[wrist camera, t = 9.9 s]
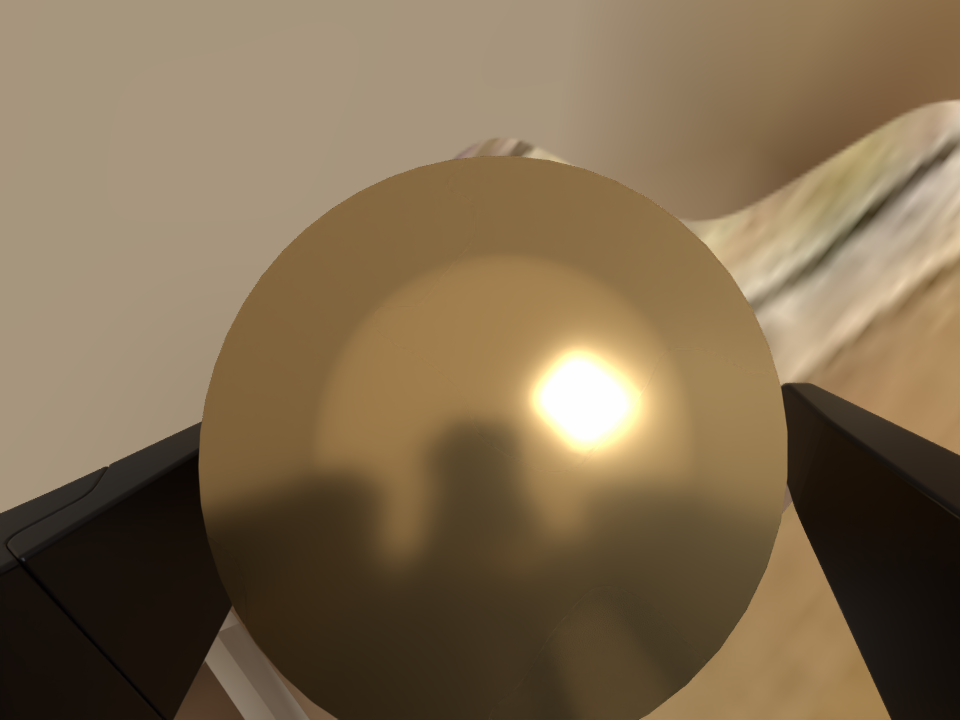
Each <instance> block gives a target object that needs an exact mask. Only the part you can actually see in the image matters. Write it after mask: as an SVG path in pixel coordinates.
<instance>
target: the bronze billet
mask: <svg viewBox="0 0 960 720" xmlns="http://www.w3.org/2000/svg"><path fill="white" fill-rule="evenodd" d="M199 482H200V497H201V507H202V512H203V517H204V523H205V528H206V533H207V539H208V542H209V546H210V549H211V552H212V555H213V558H214V561H215V565H216V568H217V571H218V574H219V577H220V579H221V581H222V583H223V585H224V588H225V590H226V592H227V594H228V596H229V598H230V601H231V603H232V605H233V607H234V609H235V611H236V613H237V614H238V616H239V618H240V619H241V621H242V622H243V624H244V626H245V627H246V629H247V630H248V632H249V634H250V635H251V637H252V638H253V640H254V641H255V643H256V644H257V646H258V647H259V648H260V649H261V650H262V652H263V653H264V654H265V655H266V656H267V658H268V659H269V660H270V661H271V662H272V664H273V665H274V666H275V667H276V668H277V670H278V671H279V672H280V673H281V674H282V675H283V676H284V677H285V678H286V679H287V680H288V681H289V682H290V683H292V684H293V685H294V686H295V687H296V688H297V689H298V690H299V691H300V692H302V693H303V694H304V695H305V696H306V697H307V698H308V699H309V700H310V701H312V702H313V703H314V704H316V705H317V706H319V707H320V708H322V709H323V710H325V711H326V712H328V713H329V714H331V715H332V716H334V717H335V718H337V719H338V720H639V719H641V718H642V717H644V716H646V715H648V714H650V713H651V712H652V711H653V710H655V709H656V708H657V707H659V706H660V705H661V704H662V703H664V702H665V701H666V700H668V699H669V698H670V697H671V696H673V695H674V694H675V693H676V692H678V691H679V690H680V689H682V688H683V687H684V686H685V685H687V684H688V683H689V682H690V681H691V679H692V678H693V677H694V676H695V675H696V674H697V673H698V672H699V671H700V670H701V669H702V668H703V667H704V666H705V664H706V663H707V662H708V661H709V660H710V659H711V658H712V657H713V656H714V655H715V654H716V653H717V652H718V651H719V650H720V648H721V647H722V645H723V644H724V642H725V641H726V639H727V638H728V636H729V635H730V633H731V632H732V630H733V629H734V628H735V626H736V625H737V623H738V622H739V620H740V619H741V617H742V616H743V614H744V613H745V611H746V610H747V608H748V606H749V604H750V602H751V599H752V597H753V595H754V593H755V591H756V589H757V587H758V585H759V583H760V581H761V578H762V576H763V574H764V572H765V570H766V568H767V565H768V562H769V559H770V555H771V552H772V549H773V546H774V542H775V539H776V536H777V532H778V529H779V526H780V523H781V516H782V509H783V503H784V496H785V489H786V482H787V425H786V418H785V411H784V404H783V397H782V390H781V385H780V382H779V379H778V375H777V372H776V368H775V365H774V361H773V358H772V355H771V351H770V348H769V345H768V343H767V341H766V338H765V336H764V334H763V332H762V330H761V327H760V325H759V323H758V321H757V318H756V316H755V314H754V312H753V310H752V308H751V306H750V305H749V303H748V301H747V300H746V298H745V297H744V295H743V293H742V292H741V290H740V289H739V287H738V285H737V284H736V282H735V281H734V279H733V277H732V276H731V274H730V273H729V272H728V271H727V270H726V268H725V267H724V266H723V265H722V264H721V262H720V261H719V260H718V259H717V258H716V256H715V255H714V254H713V253H712V252H711V250H710V249H709V248H708V247H707V246H706V244H704V243H703V242H702V241H701V240H700V239H699V238H698V237H697V236H696V235H695V234H694V233H692V232H691V231H690V230H689V229H688V228H687V227H686V226H685V225H684V224H683V223H682V222H681V221H679V220H678V219H677V218H676V217H674V216H673V215H671V214H670V213H669V212H667V211H666V210H664V209H663V208H661V207H660V206H659V205H657V204H656V203H654V202H653V201H652V200H650V199H649V198H647V197H645V196H643V195H641V194H639V193H638V192H635V191H634V190H632V189H630V188H628V187H626V186H624V185H623V184H621V183H619V182H617V181H615V180H612V179H609V178H607V177H604V176H601V175H599V174H596V173H594V172H591V171H588V170H585V169H583V168H579V167H575V166H571V165H567V164H562V163H558V162H554V161H550V160H542V159H534V158H526V157H517V156H481V157H472V158H464V159H455V160H448V161H444V162H440V163H435V164H431V165H426V166H422V167H418V168H415V169H412V170H409V171H407V172H404V173H401V174H398V175H395V176H393V177H389V178H387V179H385V180H383V181H381V182H379V183H377V184H375V185H372V186H370V187H368V188H366V189H364V190H362V191H360V192H358V193H356V194H355V195H353V196H352V197H350V198H348V199H347V200H345V201H343V202H342V203H341V204H339V205H337V206H335V207H334V208H332V209H331V210H330V211H328V212H327V213H326V214H324V215H323V216H322V217H320V218H319V219H318V220H317V221H315V222H314V223H313V224H311V225H310V226H309V227H308V228H306V229H305V230H304V231H303V232H302V233H301V234H300V235H299V236H298V237H297V238H296V239H295V240H294V241H293V242H292V243H291V244H290V245H289V246H288V247H287V248H285V249H284V250H283V251H282V253H281V254H280V255H279V256H278V257H277V259H276V260H275V261H274V262H273V263H272V265H271V266H270V267H269V268H268V270H266V272H265V273H264V274H263V275H262V276H261V278H260V279H259V281H258V283H257V284H256V286H255V287H254V288H253V290H252V292H251V293H250V294H249V296H248V297H247V299H246V300H245V302H244V303H243V305H242V307H241V309H240V311H239V312H238V314H237V316H236V318H235V320H234V322H233V324H232V326H231V328H230V330H229V332H228V333H227V336H226V338H225V341H224V343H223V346H222V348H221V351H220V354H219V356H218V358H217V361H216V364H215V367H214V370H213V374H212V378H211V381H210V385H209V388H208V392H207V395H206V400H205V406H204V412H203V418H202V425H201V431H200V448H199Z"/></svg>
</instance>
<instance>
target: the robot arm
mask: <svg viewBox="0 0 960 720" xmlns="http://www.w3.org/2000/svg"><path fill="white" fill-rule="evenodd" d="M781 390H782V397H783V404H784V411H785V418H786V425H787V486H788V489H789V492H790V495H791V498H792V501H793V504H794V507H795V510H796V512H797V514H798V517H799V519H800V521H801V524H802V526H803V528H804V530H805V533H806V535H807V537H808V539H809V541H810V543H811V546H812V548H813V550H814V552H815V554H816V557H817V559H818V561H819V563H820V565H821V567H822V570H823V572H824V574H825V576H826V578H827V581H828V583H829V585H830V587H831V589H832V591H833V594H834V596H835V598H836V600H837V602H838V605H839V607H840V609H841V611H842V613H843V615H844V618H845V620H846V622H847V624H848V626H849V628H850V631H851V633H852V635H853V637H854V639H855V642H856V644H857V646H858V648H859V650H860V652H861V655H862V657H863V659H864V661H865V663H866V666H867V668H868V670H869V672H870V674H871V676H872V679H873V681H874V683H875V685H876V687H877V690H878V692H879V694H880V696H881V698H882V700H883V703H884V705H885V707H886V709H887V711H888V714H889V716H890V718H891V720H960V455H958V454H956V453H954V452H952V451H950V450H948V449H946V448H943V447H941V446H939V445H937V444H935V443H933V442H931V441H929V440H927V439H925V438H923V437H921V436H919V435H917V434H915V433H913V432H910V431H908V430H906V429H904V428H902V427H900V426H898V425H896V424H894V423H892V422H890V421H888V420H886V419H884V418H882V417H879V416H877V415H875V414H873V413H871V412H869V411H867V410H865V409H863V408H861V407H859V406H857V405H855V404H853V403H851V402H849V401H846V400H844V399H842V398H840V397H838V396H836V395H834V394H832V393H830V392H828V391H826V390H824V389H822V388H820V387H818V386H816V385H813V384H811V383H785V384H783V385H782V386H781ZM201 425H202V422H200V423H197V424H195V425H193V426H191V427H189V428H187V429H185V430H182V431H180V432H178V433H176V434H174V435H172V436H170V437H167V438H165V439H163V440H161V441H159V442H157V443H155V444H153V445H150V446H148V447H146V448H144V449H142V450H140V451H137V452H136V453H133V454H131V455H129V456H127V457H125V458H123V459H120V460H118V461H116V462H114V463H112V464H110V465H109V467H103V468H101V469H99V470H97V471H95V472H93V473H90V474H88V475H86V476H84V477H82V478H79V479H77V480H75V481H73V482H71V483H68V484H66V485H64V486H62V487H60V488H58V489H55V490H53V491H51V492H49V493H46V494H44V495H42V496H40V497H37V498H35V499H33V500H30V501H28V502H26V503H23V504H21V505H19V506H17V507H14V508H12V509H10V510H7V511H5V512H2V513H0V720H174V718H175V716H176V714H177V712H178V710H179V708H180V707H181V705H182V703H183V701H184V699H185V697H186V695H187V693H188V691H189V689H190V687H191V685H192V683H193V681H194V679H195V677H196V675H197V674H198V672H199V670H200V668H201V666H202V664H203V662H204V660H205V658H206V656H207V654H208V652H209V650H210V648H211V646H212V644H213V643H214V641H215V639H216V637H217V635H218V633H219V631H220V629H221V627H222V625H223V623H224V621H225V619H226V617H227V615H228V613H229V612H230V610H231V608H232V606H233V605H232V603H231V601H230V598H229V596H228V594H227V592H226V590H225V588H224V585H223V583H222V581H221V579H220V577H219V574H218V571H217V568H216V565H215V561H214V558H213V555H212V552H211V549H210V546H209V542H208V539H207V533H206V528H205V523H204V517H203V512H202V507H201V497H200V482H199V448H200V431H201Z"/></svg>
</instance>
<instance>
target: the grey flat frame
mask: <svg viewBox="0 0 960 720" xmlns="http://www.w3.org/2000/svg"><path fill="white" fill-rule="evenodd" d="M791 502H792V498H791V495H790V492H789V489H788V486H787V482H786V489H785V496H784V503H783V509H782V513H783V512H784V511H785V510H786V508H787V507H788V506H789V505H790V503H791ZM174 720H338V719H337V718H335V717H334V716H332V715H331V714H329V713H328V712H326V711H325V710H323V709H322V708H320V707H319V706H317V705H316V704H314V703H313V702H312V701H310V700H309V699H308V698H307V697H306V696H305V695H304V694H303V693H302V692H300V691H299V690H298V689H297V688H296V687H295V686H294V685H293V684H292V683H290V682H289V681H288V680H287V679H286V678H285V677H284V676H283V675H282V674H281V673H280V672H279V671H278V670H277V668H276V667H275V666H274V665H273V664H272V662H271V661H270V660H269V659H268V658H267V656H266V655H265V654H264V653H263V652H262V650H261V649H260V648H259V647H258V646H257V644H256V643H255V641H254V640H253V638H252V637H251V635H250V634H249V632H248V630H247V629H246V627H245V626H244V624H243V622H242V621H241V619H240V618H239V616H238V614H237V613H236V611H235V609H234V607H233V606H232V608H231V610H230V612H229V613H228V615H227V617H226V619H225V621H224V623H223V625H222V627H221V629H220V631H219V633H218V635H217V637H216V639H215V641H214V643H213V644H212V646H211V648H210V650H209V652H208V654H207V656H206V658H205V660H204V662H203V664H202V666H201V668H200V670H199V672H198V674H197V675H196V677H195V679H194V681H193V683H192V685H191V687H190V689H189V691H188V693H187V695H186V697H185V699H184V701H183V703H182V705H181V707H180V708H179V710H178V712H177V714H176V716H175V718H174Z"/></svg>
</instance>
